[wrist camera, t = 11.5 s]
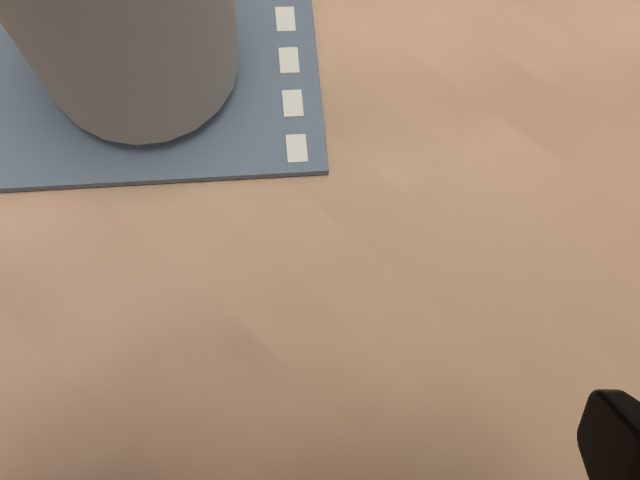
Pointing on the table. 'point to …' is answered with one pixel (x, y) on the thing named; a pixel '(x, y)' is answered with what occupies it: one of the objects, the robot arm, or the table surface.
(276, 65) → the mat
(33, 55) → the can
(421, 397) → the table surface
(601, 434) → the robot arm
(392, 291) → the table surface
